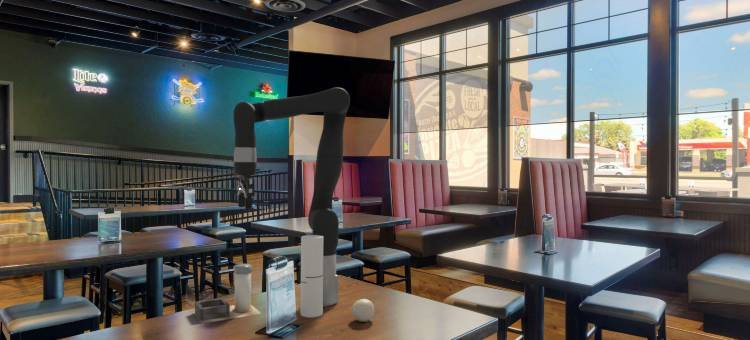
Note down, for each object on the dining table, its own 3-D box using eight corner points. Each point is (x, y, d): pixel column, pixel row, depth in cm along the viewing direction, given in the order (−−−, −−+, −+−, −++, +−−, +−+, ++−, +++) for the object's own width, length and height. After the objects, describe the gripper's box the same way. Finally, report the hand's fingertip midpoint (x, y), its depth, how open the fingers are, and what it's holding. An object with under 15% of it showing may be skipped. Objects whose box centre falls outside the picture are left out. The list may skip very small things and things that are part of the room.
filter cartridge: (248, 305, 151) (249, 263, 151) (253, 310, 147) (253, 266, 147) (232, 308, 149) (232, 264, 148) (236, 312, 144) (236, 268, 144)
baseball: (350, 317, 146) (350, 296, 146) (373, 317, 147) (373, 296, 147) (351, 325, 139) (351, 303, 139) (375, 324, 140) (375, 302, 140)
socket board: (249, 307, 155) (249, 292, 155) (261, 318, 144) (261, 302, 144) (192, 315, 146) (192, 300, 146) (200, 328, 135) (200, 311, 135)
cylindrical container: (318, 318, 145) (319, 238, 145) (297, 316, 146) (297, 238, 146) (325, 311, 152) (326, 235, 152) (305, 309, 153) (305, 234, 153)
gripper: (262, 161, 154) (262, 209, 154) (250, 161, 166) (249, 206, 166) (239, 160, 150) (239, 210, 150) (229, 160, 162) (228, 206, 163)
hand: (244, 208), depth 158 cm, fingers open, 8 cm apart
